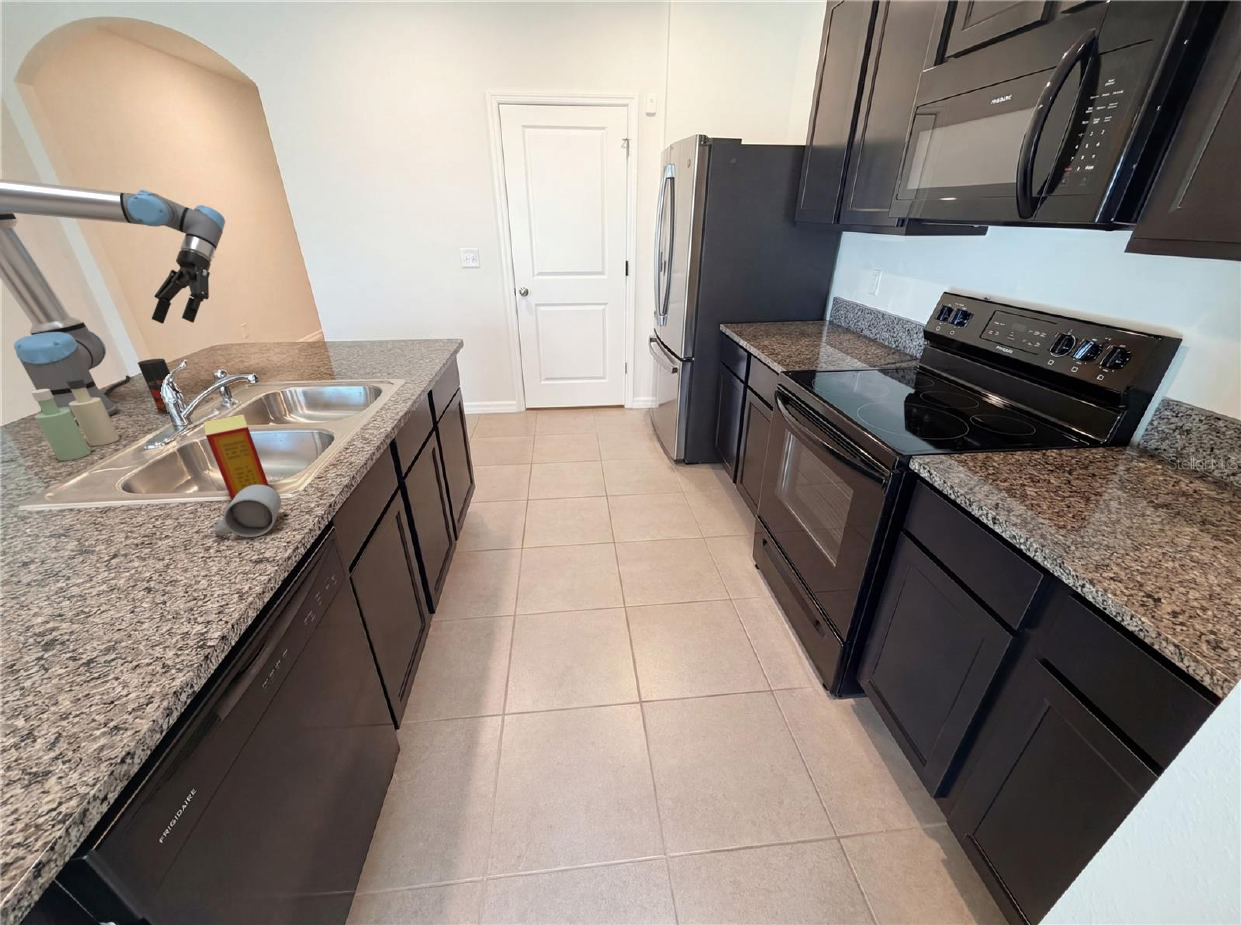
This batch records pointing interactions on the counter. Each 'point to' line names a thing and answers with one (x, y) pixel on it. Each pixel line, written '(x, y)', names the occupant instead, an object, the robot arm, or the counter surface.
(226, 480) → the baking soda box
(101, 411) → the bottle
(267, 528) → the ceramic mug
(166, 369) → the deodorant
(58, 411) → the bottle
